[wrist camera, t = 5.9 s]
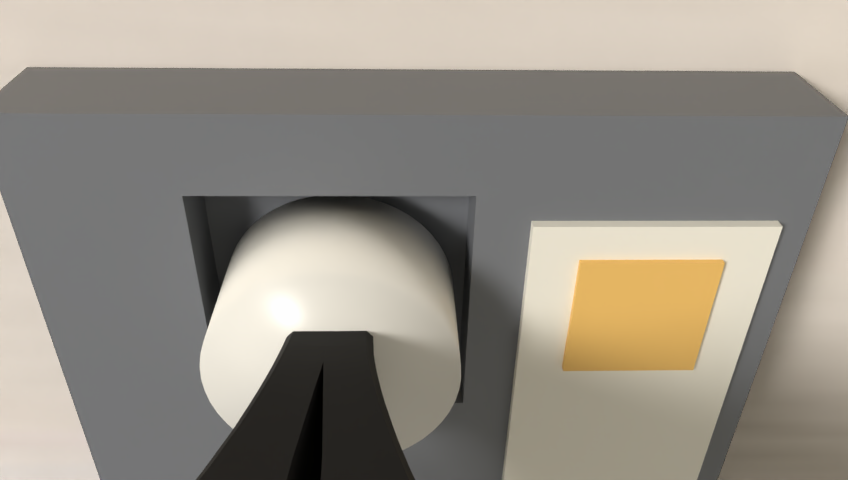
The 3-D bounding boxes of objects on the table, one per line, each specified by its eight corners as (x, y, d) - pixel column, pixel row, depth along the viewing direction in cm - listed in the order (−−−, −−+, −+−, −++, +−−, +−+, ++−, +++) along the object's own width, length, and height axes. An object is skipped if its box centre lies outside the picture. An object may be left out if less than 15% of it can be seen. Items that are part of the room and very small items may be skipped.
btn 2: (449, 372, 16) (456, 462, 14) (241, 373, 16) (218, 465, 14) (457, 194, 13) (467, 272, 11) (212, 194, 13) (179, 272, 11)
